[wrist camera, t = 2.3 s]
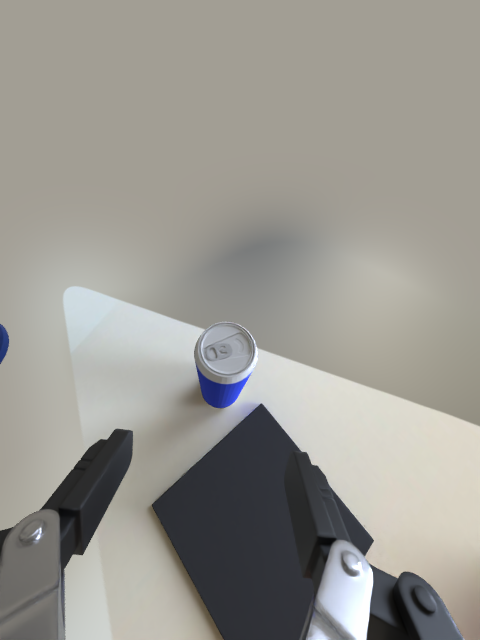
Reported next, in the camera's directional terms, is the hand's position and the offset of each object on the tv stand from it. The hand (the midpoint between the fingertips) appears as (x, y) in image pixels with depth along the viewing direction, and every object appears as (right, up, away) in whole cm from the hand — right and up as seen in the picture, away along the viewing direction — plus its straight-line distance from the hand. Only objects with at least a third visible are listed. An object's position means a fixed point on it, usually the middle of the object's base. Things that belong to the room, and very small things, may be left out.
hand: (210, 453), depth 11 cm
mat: (+4, -15, +13) cm, 20 cm away
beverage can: (-1, -3, +19) cm, 19 cm away
